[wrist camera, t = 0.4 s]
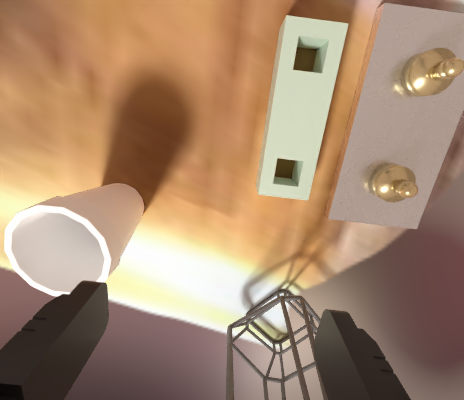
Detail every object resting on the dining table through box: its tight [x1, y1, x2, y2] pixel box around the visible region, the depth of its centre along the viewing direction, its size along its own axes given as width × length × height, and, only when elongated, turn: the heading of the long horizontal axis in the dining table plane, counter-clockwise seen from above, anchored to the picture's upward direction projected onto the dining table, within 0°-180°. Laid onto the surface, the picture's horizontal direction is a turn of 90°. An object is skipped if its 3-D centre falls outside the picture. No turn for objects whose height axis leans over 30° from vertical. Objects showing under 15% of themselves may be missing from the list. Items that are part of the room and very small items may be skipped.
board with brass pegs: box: [324, 3, 464, 229], centre depth 28 cm, size 24×12×6 cm, turn 173°
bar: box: [256, 15, 349, 200], centre depth 29 cm, size 18×6×4 cm, turn 173°
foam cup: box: [4, 183, 144, 296], centre depth 28 cm, size 10×9×13 cm
